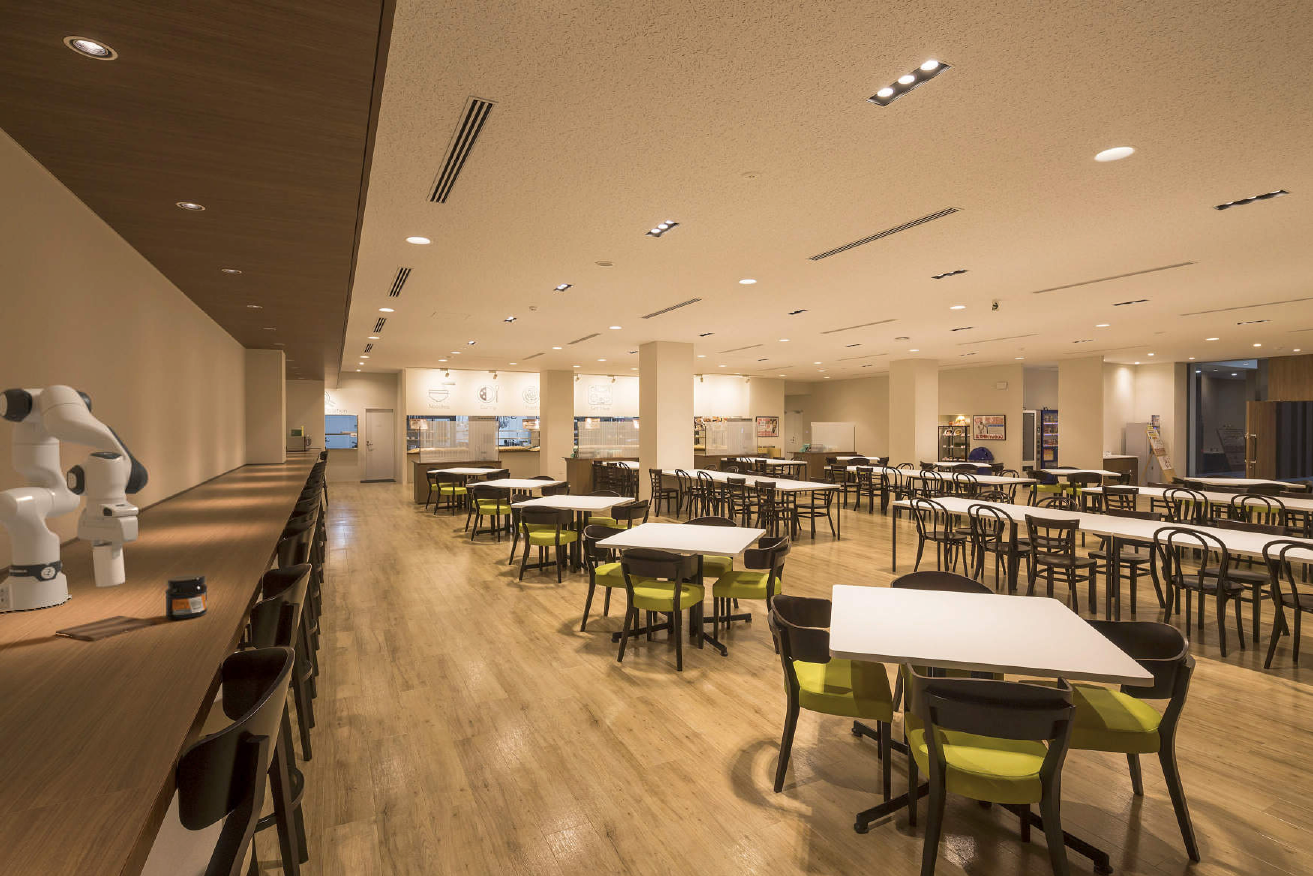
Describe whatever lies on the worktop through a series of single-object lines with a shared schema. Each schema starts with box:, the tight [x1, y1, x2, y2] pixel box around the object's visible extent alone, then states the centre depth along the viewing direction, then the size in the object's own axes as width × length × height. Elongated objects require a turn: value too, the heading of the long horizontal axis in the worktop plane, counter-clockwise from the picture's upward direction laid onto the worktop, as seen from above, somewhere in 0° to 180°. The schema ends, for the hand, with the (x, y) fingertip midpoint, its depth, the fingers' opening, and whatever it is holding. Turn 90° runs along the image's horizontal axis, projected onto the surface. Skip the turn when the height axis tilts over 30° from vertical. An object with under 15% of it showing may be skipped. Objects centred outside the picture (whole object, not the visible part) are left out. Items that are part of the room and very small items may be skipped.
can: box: [92, 541, 126, 589], centre depth 184 cm, size 6×6×12 cm
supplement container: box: [164, 573, 208, 621], centre depth 198 cm, size 10×10×12 cm
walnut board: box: [55, 615, 157, 642], centre depth 184 cm, size 16×16×1 cm
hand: (107, 556), depth 184 cm, fingers closed on can, 5 cm apart
